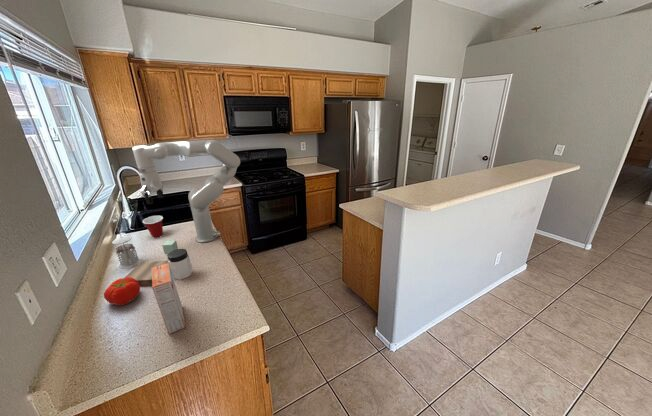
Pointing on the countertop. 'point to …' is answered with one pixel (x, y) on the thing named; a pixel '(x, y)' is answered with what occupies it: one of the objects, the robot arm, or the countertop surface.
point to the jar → (179, 263)
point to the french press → (126, 251)
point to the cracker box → (167, 298)
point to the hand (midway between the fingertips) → (155, 200)
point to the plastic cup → (154, 225)
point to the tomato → (122, 291)
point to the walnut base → (144, 272)
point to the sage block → (170, 246)
